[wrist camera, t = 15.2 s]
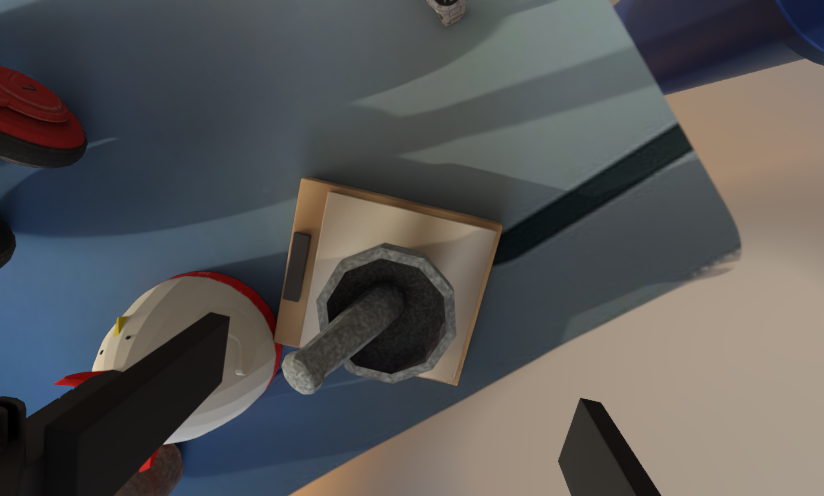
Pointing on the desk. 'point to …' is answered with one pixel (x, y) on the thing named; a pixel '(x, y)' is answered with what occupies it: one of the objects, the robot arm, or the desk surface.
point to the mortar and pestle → (378, 320)
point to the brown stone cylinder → (156, 475)
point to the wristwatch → (449, 10)
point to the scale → (373, 225)
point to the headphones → (34, 134)
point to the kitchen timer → (171, 314)
